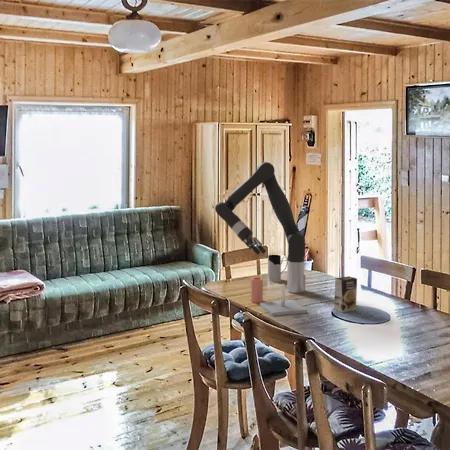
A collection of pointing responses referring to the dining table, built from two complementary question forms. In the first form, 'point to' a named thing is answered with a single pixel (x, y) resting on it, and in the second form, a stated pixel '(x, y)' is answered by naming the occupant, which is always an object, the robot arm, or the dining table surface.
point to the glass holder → (275, 268)
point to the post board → (283, 306)
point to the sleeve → (256, 290)
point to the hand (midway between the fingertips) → (262, 253)
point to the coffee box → (345, 294)
